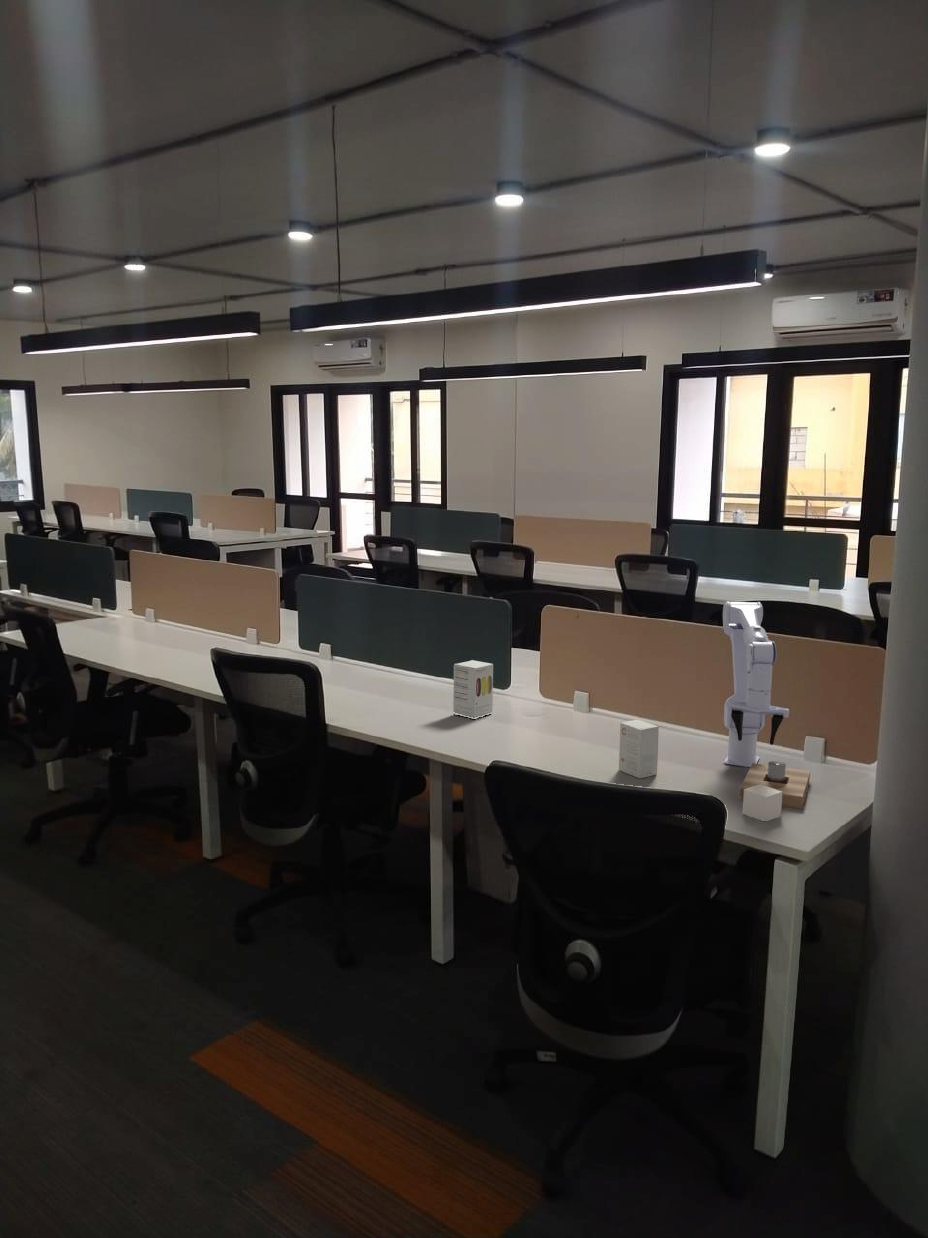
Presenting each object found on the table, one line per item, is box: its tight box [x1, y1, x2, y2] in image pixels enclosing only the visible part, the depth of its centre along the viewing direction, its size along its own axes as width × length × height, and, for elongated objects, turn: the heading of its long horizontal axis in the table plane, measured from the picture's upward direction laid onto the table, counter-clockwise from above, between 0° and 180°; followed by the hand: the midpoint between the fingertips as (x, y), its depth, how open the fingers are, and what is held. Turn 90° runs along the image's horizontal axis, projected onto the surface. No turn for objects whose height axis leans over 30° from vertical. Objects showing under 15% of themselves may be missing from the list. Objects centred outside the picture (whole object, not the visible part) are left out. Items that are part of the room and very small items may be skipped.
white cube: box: [742, 784, 783, 822], centre depth 203 cm, size 6×6×6 cm
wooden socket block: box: [739, 763, 811, 810], centre depth 219 cm, size 20×14×3 cm
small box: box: [618, 719, 660, 779], centre depth 231 cm, size 8×6×13 cm
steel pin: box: [767, 760, 787, 784], centre depth 218 cm, size 4×4×7 cm
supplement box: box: [452, 659, 494, 718], centre depth 284 cm, size 10×9×17 cm
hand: (755, 741), depth 224 cm, fingers open, 7 cm apart
